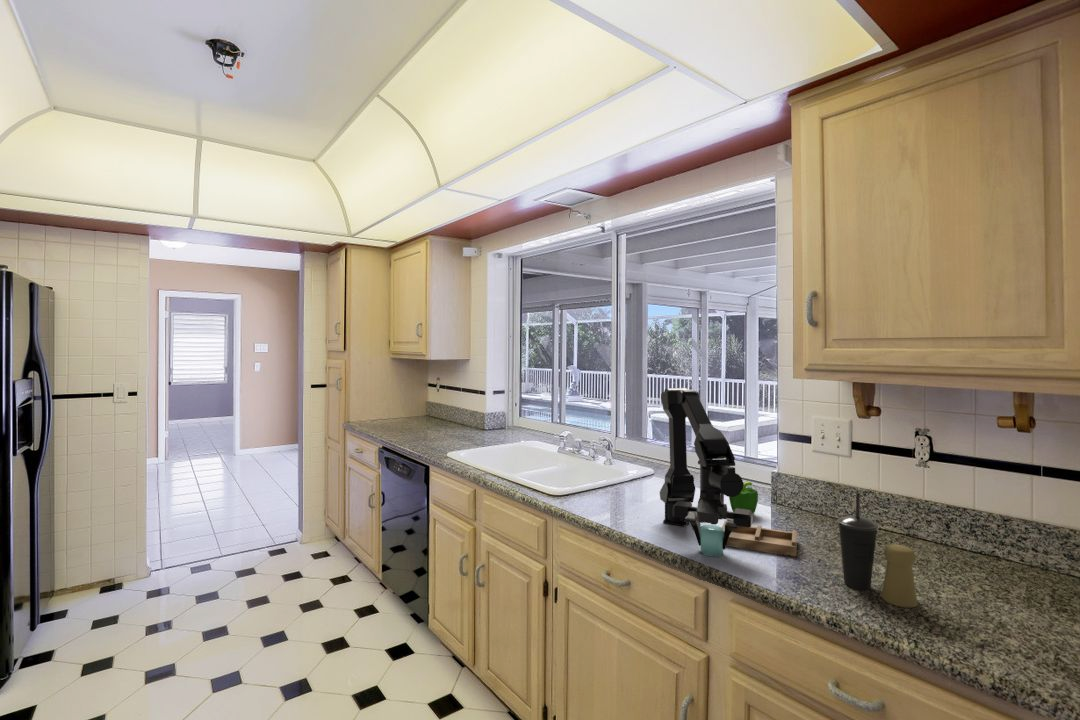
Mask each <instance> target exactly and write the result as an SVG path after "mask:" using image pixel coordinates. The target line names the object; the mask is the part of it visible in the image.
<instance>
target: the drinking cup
mask: <svg viewBox="0 0 1080 720" xmlns="http://www.w3.org/2000/svg"><path fill="white" fill-rule="evenodd" d="M860 498H861V494H860V492H856V493H855V515H845V516H843V517H839V518H837V524H838V529H839V539H840V541H839V542H840V552H841V561H842V563H841V564H842V571H843V572H842V573H843V582H844V584H845V586H847V587H849V588H851V589H854V590H857V591H858V590H859V591H867V590H870V589H871V584H872V576H873V568H874V567H873V566H874V560H875V550H876V541H877V534H878V530H879V527H880V526H879V524H878V523H877V522H875V521H872V520H871V519H869V518H866V517H864V516H861V515H860V508H861V507H860V504H861V501H860V500H861V499H860Z"/></svg>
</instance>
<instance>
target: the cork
mask: <svg viewBox="0 0 1080 720" xmlns="http://www.w3.org/2000/svg"><path fill="white" fill-rule="evenodd" d="M883 554H884V558H885V560H886V561H887V562H886V566H885V567H886V568H885V573H884V579H883V585H882V591H881V598H882V600H884V601H885V602H886V603H888V604H890V605H894V606H897V607H901V608H911V609H912V608H916V607H917V606H918V599H917V592H916V586H915V585H916V584H915V579H914V572H913V565H914V564H915V561H916V554H915V552H914V550H913V549H912V548H910V547H908V546H906V545H901V544H894V543H893V544H888V545H886V546H885V547H884V551H883Z"/></svg>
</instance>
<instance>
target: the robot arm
mask: <svg viewBox="0 0 1080 720" xmlns="http://www.w3.org/2000/svg"><path fill="white" fill-rule="evenodd" d="M660 400H661V404H662V410H663V411H664V413H665V415H666V416H667V418H668V435H669V436H668V437H669V469H668V470H667V471H666V473H665V476H664V482H663V484H662V487H661V488H660V491H659V499H660V500H661V501H662V502H663V503H664V519H663V520H662V523H664V524H670V525H676V526H682V527H684V526H685V527H686V526H687V525H688V524H689V525H690V526H691V528H692V530H693V532H694V536H695V538H696V542H697V544H698V546H700V547H701V526H702V524H703V523H704V524H710V525H717V524H719V520H725V521H727V522H726V524H725V532H724V539H723V551H725V550H726V547H727V546H726V544H727V542H728V539H729V536H730V533H731V532H732V530H733V528H734V529H737V528H738V526H742V527H751V526H752V524H753V515H754V514H753V513H752V512H751V510H747V509H739V508H736V509H735V511H734V512H733V511H730V510H729V511H728V504H727V503H725V497H728V498H729V497H735V496H737V495H739V494H740V493H741V491H742V489H743V484H744V480H743V478H742V476H740V474H739V473H736V462H735V460H736V457H735V455H734V453H733V450H732V449H731V446H730V443H729V441H728V440H727V438H726V437H725V435H724V434H723V433H722V431H721V430H720V429H718V428H716V427H715V426H714V425H713V424H712V422H711V420H710V417H709V415H708V414H707V412H706V410H705V408H704V406H703V403H702V401H701V400H700V394H699V391H698V390H695V389H688V388H687V387H674V388H673V387H668V388H667V387H666V388H665V389H664V391H663V392H661V394H660ZM686 418H687V419H688V421H689V424H690V426H691V428H692V431H693V433H694V435H695V439H694V442H693V445H694V451H695V454H696V456H697V458H698V461H697V464H698V465H699V474H700V475H699V490H700V491H699V499H698V500H697V505H696V506H693V503H694V499H695V494H696V486H695V477H694V474H692V473H690V470H689V469H688V461H687V460H688V459H687V458H688V457H687V455H688V453H687V428H686V427H687V426H686V424H687V422H686V421H687V420H686Z"/></svg>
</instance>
